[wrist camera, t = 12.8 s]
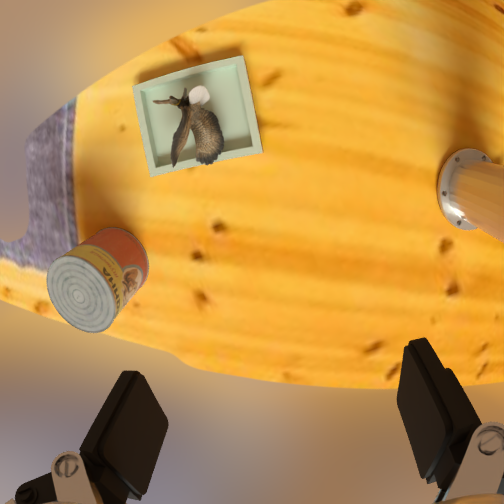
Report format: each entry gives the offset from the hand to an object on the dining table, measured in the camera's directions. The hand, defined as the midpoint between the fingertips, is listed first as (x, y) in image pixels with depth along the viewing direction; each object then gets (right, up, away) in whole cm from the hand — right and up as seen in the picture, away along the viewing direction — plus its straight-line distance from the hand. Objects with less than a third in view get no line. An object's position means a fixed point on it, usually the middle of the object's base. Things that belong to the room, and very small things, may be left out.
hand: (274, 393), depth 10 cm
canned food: (-22, +3, +36) cm, 43 cm away
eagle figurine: (-8, +20, +27) cm, 35 cm away
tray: (-8, +23, +28) cm, 37 cm away
